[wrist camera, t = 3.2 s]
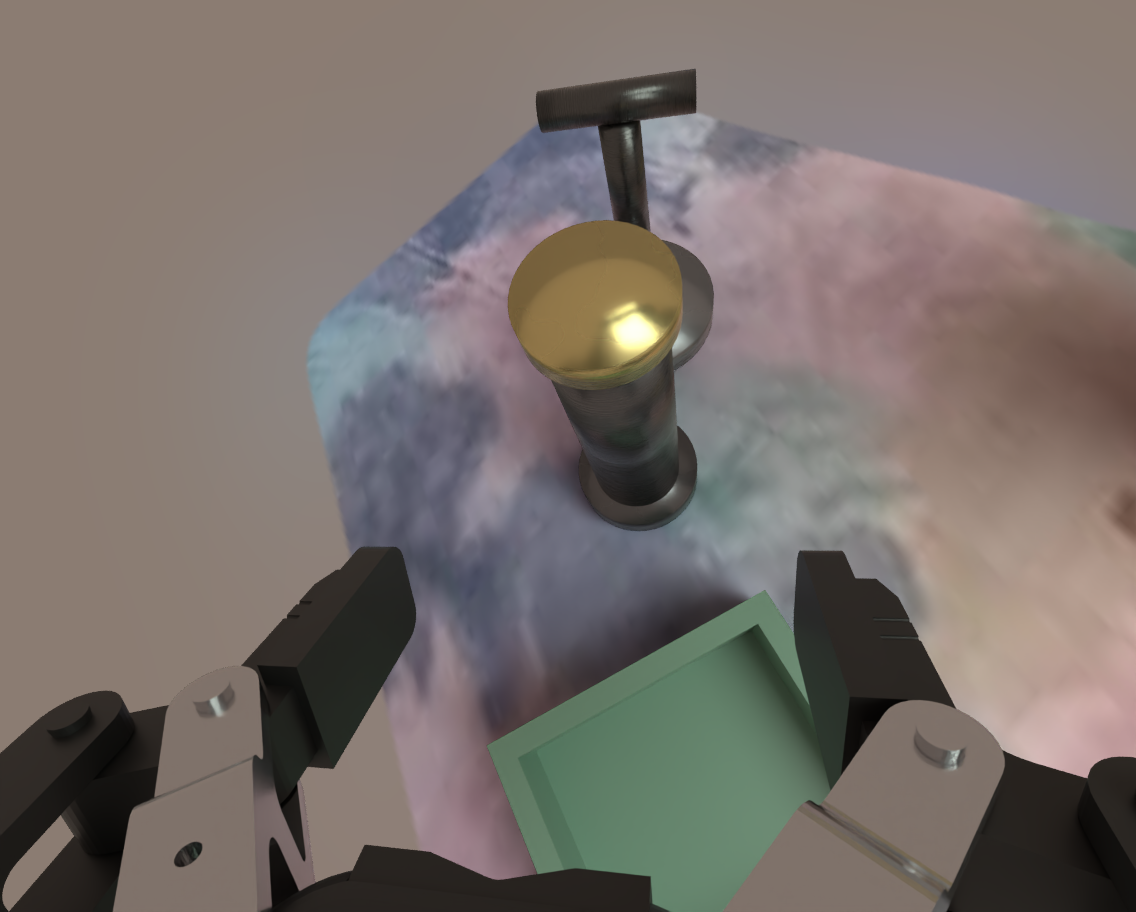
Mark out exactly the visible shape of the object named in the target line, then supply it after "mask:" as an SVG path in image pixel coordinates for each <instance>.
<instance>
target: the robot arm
mask: <svg viewBox="0 0 1136 912" xmlns="http://www.w3.org/2000/svg"><path fill="white" fill-rule="evenodd" d="M415 622H416V607H415V603H414V599H413V595H412V591H411V587H410V583H409V578H408V574H407V570H406V566H405V562H404V558H403V555H402V553H401V551H400V550H399V549H398V548H397V547H361V548H359V549H358V550H357V551H356V552H355V553H354V554H353V555H352V557H351V558H350V559H349V560H348V561H347V562H346V564H345V565H344V566H343V567H342V568H341V569H340V570H336V571H334V572H333V573H331V574H330V575H328V576H327V577H325V578H323V579H322V580H320V581H319V582H318V583H316V584H315V585H314V586H313V587H312V588H311V589H310V590H309V591H308V592H307V593H306V595H305V596H304V597H303V598H302V599H301V600H300V603H299V605H296V606H295V607H294V608H293V609H292V610H291V611H290V612H289V613H288V615H287V619H283V620H282V621H281V622H280V623H279V625H278V626H277V627H276V628H275V629H274V630H273V631H272V632H271V633H270V634H269V636H268V637H267V638H266V639H265V640H264V641H263V642H262V643H261V644H260V645H259V647H258V648H257V649H256V650H255V651H254V652H253V653H252V654H251V655H250V657H249V658H248V659H247V660H246V661H245V662H244V663H243V664H242V666H232V667H227V668H222V669H219V670H216V671H213V672H211V673H208V674H206V675H204V676H202V677H200V678H198V679H197V680H195V681H193V682H192V683H190V684H189V685H188V686H186V687H185V688H184V689H183V690H182V691H180V692H179V693H178V694H177V696H176V697H175V698H174V699H173V700H172V702H171V703H170V705H168V706H162V707H157V708H153V709H147V710H142V711H137V712H133V713H129V711H128V709H127V707H126V705H125V704H124V702H123V700H122V698H121V696H120V695H119V694H117V693H116V692H112V691H98V692H92V693H88V694H85V695H82V696H79V697H76V698H74V699H72V700H69V701H67V702H65V703H63V704H61V705H60V706H58V707H56V708H54V709H53V710H51V711H49V712H48V713H47V714H45V715H44V716H42V717H41V718H40V719H39V720H37V721H36V722H35V723H34V724H33V725H32V726H31V727H29V728H28V729H27V730H26V731H25V732H24V733H23V734H21V735H20V736H19V737H18V738H17V739H16V740H15V741H14V742H13V743H11V744H10V745H9V746H8V747H7V748H6V749H5V750H4V751H2V752H1V753H0V912H8V910H7V909H6V908H5V906H4V904H3V901H2V892H3V887H4V884H5V881H6V879H7V877H8V875H9V873H10V871H11V870H12V868H13V867H14V866H15V864H16V863H17V862H18V861H19V860H20V859H21V858H22V857H23V855H24V854H25V853H26V852H27V851H28V850H29V849H30V848H31V847H32V846H33V844H34V843H35V842H36V841H37V840H38V839H39V838H40V837H41V836H42V835H43V834H44V833H45V831H46V830H47V829H48V828H49V827H50V826H51V825H52V824H53V823H54V822H55V821H56V819H57V818H58V817H59V816H60V815H61V816H62V818H63V819H64V821H65V822H66V824H67V825H68V827H69V829H70V830H71V832H72V833H73V835H74V837H73V838H72V839H71V841H70V842H69V843H68V844H67V845H66V846H65V848H64V849H63V850H62V851H61V852H60V853H59V854H58V856H57V857H56V858H55V859H54V861H52V863H51V864H50V865H49V866H48V867H47V868H46V870H45V871H44V872H43V873H42V874H41V875H40V876H39V878H38V879H37V880H36V881H35V882H34V883H33V885H32V886H31V887H30V888H29V889H28V890H27V891H26V893H25V894H24V895H23V896H22V897H21V898H20V900H19V901H18V902H17V903H16V904H15V905H14V907H13V908H12V909H11V910H10V911H9V912H670V911H669V910H666V909H664V908H662V907H660V906H657V905H655V904H653V901H652V887H651V876H643V875H634V874H625V873H616V872H607V871H598V870H589V869H580V868H572V869H566V870H560V871H554V872H547V873H541V874H535V875H529V876H523V877H516V878H510V879H504V880H495V879H491V878H488V877H485V876H483V875H481V874H479V873H476V872H474V871H472V870H470V869H467V868H465V867H463V866H461V865H458V864H456V863H454V862H452V861H449V860H447V859H445V858H443V857H440V856H438V855H436V854H434V853H431V852H426V851H417V850H408V849H399V848H389V847H381V846H371V845H365V846H364V847H363V850H362V852H361V854H360V856H359V858H358V860H357V862H356V865H355V866H354V869H353V871H348V872H344V873H341V874H337V875H334V876H331V877H328V878H326V879H324V880H321V881H319V882H315V876H314V870H313V861H312V853H311V845H310V837H309V830H308V821H307V813H306V806H305V797H304V790H303V787H302V785H301V782H300V777H301V776H302V774H303V773H304V771H305V770H306V768H307V767H318V768H330V769H333V768H334V767H335V765H336V764H337V762H338V760H339V759H340V757H341V755H342V753H343V752H344V750H345V748H346V747H347V745H348V743H349V742H350V740H351V738H352V736H353V735H354V733H355V731H356V730H357V728H358V726H359V724H360V723H361V721H362V719H363V718H364V716H365V714H366V712H367V711H368V709H369V708H370V706H371V704H372V702H373V701H374V699H375V697H376V696H377V694H378V692H379V691H380V689H381V687H382V685H383V684H384V682H385V680H386V679H387V677H388V675H389V674H390V672H391V670H392V668H393V667H394V665H395V663H396V662H397V660H398V658H399V657H400V655H401V653H402V651H403V650H404V648H405V646H406V645H407V643H408V641H409V640H410V638H411V636H412V634H413V631H414V627H415ZM794 638H795V646H796V652H797V656H798V660H799V664H800V668H801V672H802V676H803V680H804V685H805V689H806V693H807V697H808V701H809V705H810V709H811V713H812V717H813V721H814V725H815V729H816V733H817V737H818V741H819V746H820V750H821V754H822V758H823V762H824V766H825V770H826V774H827V778H828V782H829V786H830V790H831V791H830V793H829V794H828V795H827V797H826V798H825V800H824V801H823V802H822V803H821V804H820V805H817V804H816V803H814V802H813V801H811V800H808V801H806V802H804V803H803V804H802V805H801V806H800V807H799V808H798V809H797V810H796V811H795V812H794V814H793V815H792V816H791V818H790V819H789V821H788V822H787V823H786V825H785V826H784V827H783V829H782V830H781V832H780V833H779V834H778V836H777V837H776V838H775V840H774V841H773V843H772V844H771V845H770V847H769V848H768V850H767V851H766V852H765V854H764V855H763V856H762V858H761V859H760V861H759V862H758V863H757V865H756V866H755V867H754V869H753V870H752V872H751V873H750V874H749V876H748V877H747V879H746V880H745V881H744V883H743V884H742V885H741V887H740V888H739V890H738V891H737V892H736V894H735V895H734V896H733V898H732V899H731V901H730V902H729V903H728V905H727V906H726V908H725V909H724V910H723V912H1136V758H1134V757H1111V758H1107V759H1103V760H1101V761H1099V762H1098V763H1096V764H1095V765H1094V766H1093V767H1092V768H1091V770H1090V772H1089V775H1088V778H1084V777H1080V776H1077V775H1073V774H1070V773H1067V772H1063V771H1060V770H1056V769H1053V768H1050V767H1046V766H1043V765H1040V764H1036V763H1033V762H1030V761H1027V760H1024V759H1021V758H1019V757H1016V756H1014V755H1012V754H1009V753H1007V752H1005V751H1003V750H1002V749H1001V747H1000V745H999V743H998V742H997V740H996V739H995V738H994V736H993V735H992V734H991V733H990V732H989V731H988V730H987V729H986V728H985V727H984V726H983V725H982V724H980V723H979V722H978V721H976V720H975V719H973V718H972V717H970V716H969V715H967V714H965V713H963V712H961V711H960V710H957V709H956V707H955V706H954V704H953V702H952V700H951V698H950V696H949V694H948V692H947V690H946V688H945V686H944V684H943V682H942V681H941V679H940V677H939V675H938V673H937V671H936V669H935V667H934V665H933V663H932V661H931V659H930V658H929V656H928V654H927V652H926V650H925V648H924V646H923V644H922V642H921V641H919V639H918V634H917V633H916V631H915V629H914V627H913V625H912V623H910V622H909V617H908V615H907V613H906V611H905V609H904V608H903V606H902V604H901V602H900V600H899V598H898V597H897V596H896V595H895V594H894V593H892V592H891V591H890V590H889V589H888V588H886V587H885V586H884V585H883V584H882V583H880V582H879V581H878V580H877V579H858V578H855V577H854V574H853V572H852V570H851V568H850V565H849V563H848V561H847V558H846V556H845V554H844V552H843V551H799V553H798V558H797V571H796V587H795V604H794Z"/></svg>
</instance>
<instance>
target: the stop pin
mask: <svg viewBox="0 0 1136 912" xmlns="http://www.w3.org/2000/svg"><path fill="white" fill-rule="evenodd" d="M508 312H509V318H510V321H511V325H512V327H513V329H514V331H515V333H516V335H517V337H518V339H519V341H520V343H521V345H522V347H523V349H524V351H525V353H526V355H527V357H528V359H529V360H530V361H531V363H532V364H533V365H534V366H535V367H536V368H537V370H538V371H540V372H541V373H542V374H543V375H545V376H546V377H548V378H549V379H551V381H552V383H553V385H554V387H555V389H556V392H557V394H558V396H559V398H560V400H561V402H562V405H563V407H564V409H565V411H566V413H567V415H568V418H569V420H570V422H571V424H572V426H573V428H574V431H575V433H576V435H577V437H578V439H579V442H580V444H581V446H582V448H583V450H582V453H581V456H580V460H579V478H580V483H581V486H582V489H583V491H584V493H585V495H586V497H587V499H588V501H589V503H590V504H591V506H592V507H593V509H594V510H595V511H596V512H597V514H598V515H599V516H601V517H602V518H603V519H604V520H606V521H607V522H609V523H610V524H612V525H614V526H616V527H619V528H622V529H626V530H631V531H647V530H652V529H656V528H659V527H662V526H664V525H666V524H668V523H670V522H671V521H673V520H674V519H676V518H677V517H678V516H679V515H680V514H681V513H682V512H683V511H684V510H685V509H686V507H687V506H688V504H689V503H690V501H691V499H692V497H693V495H694V492H695V488H696V483H697V458H696V454H695V450H694V448H693V445H692V443H691V441H690V440H689V438H688V436H687V435H686V434H685V433H684V431H683V430H682V429H681V428H680V427H679V426H677V419H676V403H675V386H674V370H673V354H672V347H673V345H674V343H675V341H676V339H677V337H678V334H679V331H680V328H681V323H682V315H683V300H682V279H681V272H680V269H679V265H678V263H677V261H676V258H675V256H674V255H673V253H672V252H671V250H670V249H669V248H668V247H667V245H666V244H665V243H664V242H663V241H662V240H661V239H659V238H658V237H657V236H656V235H654V234H653V233H651V232H649V231H648V230H646V229H643V228H641V227H639V226H636V225H633V224H630V223H625V222H620V221H609V220H603V221H591V222H585V223H581V224H577V225H573V226H571V227H568V228H565V229H563V230H561V231H559V232H557V233H555V234H553V235H551V236H550V237H548V238H546V239H545V240H544V241H542V242H541V243H540V244H538V245H537V246H536V247H535V248H534V249H533V250H532V251H531V252H530V253H529V254H528V255H527V256H526V258H525V259H524V260H523V261H522V263H521V264H520V266H519V267H518V269H517V271H516V273H515V275H514V277H513V279H512V282H511V285H510V289H509V295H508Z"/></svg>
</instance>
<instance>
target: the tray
mask: <svg viewBox="0 0 1136 912" xmlns="http://www.w3.org/2000/svg"><path fill="white" fill-rule="evenodd" d="M487 748H488V750H489V753H490V755H491V758H492V760H493V763H494V765H495V768H496V770H497V773H498V775H499V778H500V780H501V783H502V785H503V788H504V790H505V793H506V796H507V798H508V801H509V803H510V806H511V808H512V811H513V813H514V816H515V818H516V821H517V823H518V826H519V828H520V831H521V833H522V836H523V838H524V841H525V843H526V846H527V849H528V851H529V854H530V856H531V859H532V861H533V864H534V866H535V869H536V871H537V874H541V873H547V872H554V871H560V870H566V869H572V868H580V869H589V870H598V871H607V872H616V873H625V874H634V875H643V876H651V887H652V901H653V904H655V905H657V906H660V907H662V908H664V909H666V910H669V911H670V912H723V910H724V909H725V908H726V906H727V905H728V903H729V902H730V901H731V899H732V898H733V896H734V895H735V894H736V892H737V891H738V890H739V888H740V887H741V885H742V884H743V883H744V881H745V880H746V879H747V877H748V876H749V874H750V873H751V872H752V870H753V869H754V867H755V866H756V865H757V863H758V862H759V861H760V859H761V858H762V856H763V855H764V854H765V852H766V851H767V850H768V848H769V847H770V845H771V844H772V843H773V841H774V840H775V838H776V837H777V836H778V834H779V833H780V832H781V830H782V829H783V827H784V826H785V825H786V823H787V822H788V821H789V819H790V818H791V816H792V815H793V814H794V812H795V811H796V810H797V809H798V808H799V807H800V806H801V805H802V804H803V803H804V802H806V801H808V800H811V801H813V802H814V803H816V804H817V805H820V804H821V803H822V802H823V801H824V800H825V798H826V797H827V795H828V794H829V793H830V791H831V790H830V786H829V782H828V778H827V774H826V770H825V766H824V762H823V758H822V754H821V750H820V746H819V741H818V737H817V733H816V729H815V725H814V721H813V717H812V713H811V709H810V705H809V701H808V697H807V693H806V689H805V685H804V680H803V676H802V672H801V668H800V664H799V660H798V656H797V652H796V646H795V638H794V634H793V632H792V630H791V629H790V627H789V626H788V624H787V623H786V621H785V620H784V618H783V617H782V615H781V614H780V612H779V611H778V609H777V607H776V606H775V604H774V603H773V601H772V600H771V598H770V597H769V595H768V594H767V592H766V591H765V590H764V591H762V592H761V593H759V594H757V595H755V596H753V597H752V598H750V599H748V600H746V601H744V602H743V603H741V604H739V605H737V606H736V607H734V608H732V609H730V610H728V611H727V612H725V613H723V614H721V615H719V616H718V617H716V618H714V619H712V620H710V621H709V622H707V623H705V624H703V625H702V626H700V627H698V628H696V629H694V630H693V631H691V632H689V633H687V634H685V635H684V636H682V637H680V638H678V639H676V640H675V641H673V642H671V643H669V644H668V645H666V646H664V647H662V648H660V649H659V650H657V651H655V652H653V653H651V654H650V655H648V656H646V657H644V658H642V659H641V660H639V661H637V662H635V663H634V664H632V665H630V666H628V667H626V668H625V669H623V670H621V671H619V672H617V673H616V674H614V675H612V676H610V677H608V678H607V679H605V680H603V681H601V682H600V683H598V684H596V685H594V686H592V687H591V688H589V689H587V690H585V691H583V692H582V693H580V694H578V695H576V696H574V697H573V698H571V699H569V700H567V701H566V702H564V703H562V704H560V705H558V706H557V707H555V708H553V709H551V710H549V711H548V712H546V713H544V714H542V715H540V716H539V717H537V718H535V719H533V720H531V721H530V722H528V723H526V724H524V725H523V726H521V727H519V728H517V729H515V730H514V731H512V732H510V733H508V734H506V735H505V736H503V737H501V738H499V739H497V740H496V741H494V742H492V743H490V744H489V745H487Z"/></svg>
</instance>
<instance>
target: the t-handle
mask: <svg viewBox="0 0 1136 912" xmlns="http://www.w3.org/2000/svg"><path fill="white" fill-rule="evenodd" d="M536 109H537V117H538V123H539V127H540V130H541V132H542V133H546V132H554V131H562V130H570V129H577V128H585V127H593V126H598V129H599V135H600V141H601V147H602V153H603V159H604V165H605V171H606V177H607V182H608V188H609V194H610V200H611V206H612V212H613V218H614V221H620V222H625V223H630V224H633V225H636V226H639V227H641V228H643V229H646V230H648V231H649V232H650V221H649V210H648V199H647V189H646V178H645V167H644V157H643V146H642V135H641V125H640V120H647V119H655V118H662V117H670V116H678V115H686V114H693V113H696V69H690V70H683V71H677V72H669V73H662V74H655V75H648V76H641V77H634V78H627V79H620V80H613V81H606V82H599V83H592V84H585V85H578V86H571V87H564V88H558V89H550V90H543V91H538V92H537V94H536ZM662 241H663V242H664V243H665V244H666V245H667V247H668V248H669V249H670V250H671V252H672V253H673V255H674V256H675V258H676V261H677V263H678V265H679V269H680V272H681V279H682V300H683V315H682V323H681V328H680V331H679V334H678V337H677V339H676V341H675V343H674V345H673V347H672V354H673V370H676V369H678V368H679V367H681V366H682V365H684V364H685V363H686V362H688V361H689V360H690V359H691V358H692V357H693V356H694V355H695V354H696V353H697V352H698V351H699V350H700V348H701V347H702V345H703V344H704V342H705V340H706V338H707V337H708V334H709V331H710V329H711V324H712V319H713V299H714V293H713V285H712V282H711V278H710V276H709V274H708V272H707V270H706V268H705V267H704V265H703V264H702V263H701V262H700V260H699V259H698V258H697V257H696V256H694V255H693V254H692V253H691V252H689V251H688V250H686V249H685V248H683V247H681V246H679V245H677V244H674V243H671V242H668V241H665V240H662Z"/></svg>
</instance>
